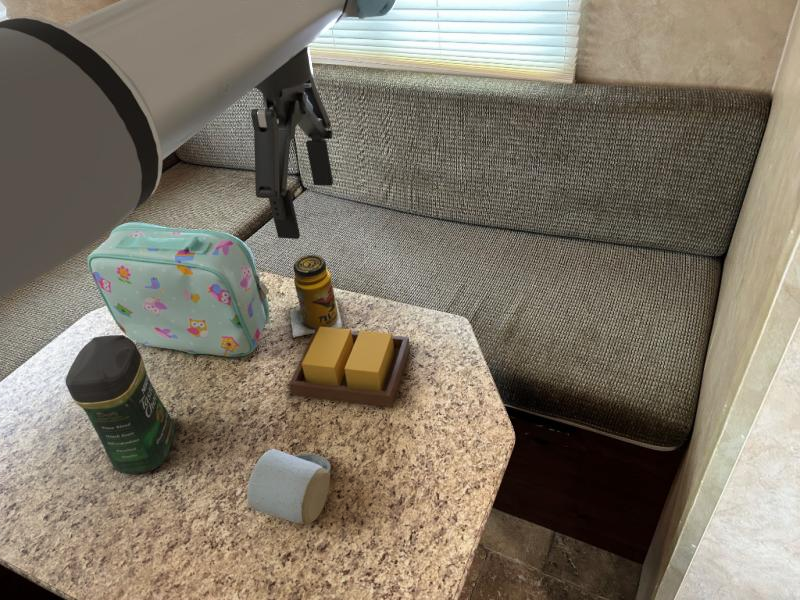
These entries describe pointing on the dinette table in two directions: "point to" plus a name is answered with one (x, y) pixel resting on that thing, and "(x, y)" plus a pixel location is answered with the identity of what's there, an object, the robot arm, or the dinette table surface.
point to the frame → (355, 394)
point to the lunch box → (182, 288)
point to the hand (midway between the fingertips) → (307, 209)
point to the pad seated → (370, 360)
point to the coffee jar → (121, 403)
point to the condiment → (313, 297)
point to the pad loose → (328, 356)
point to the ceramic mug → (289, 485)
